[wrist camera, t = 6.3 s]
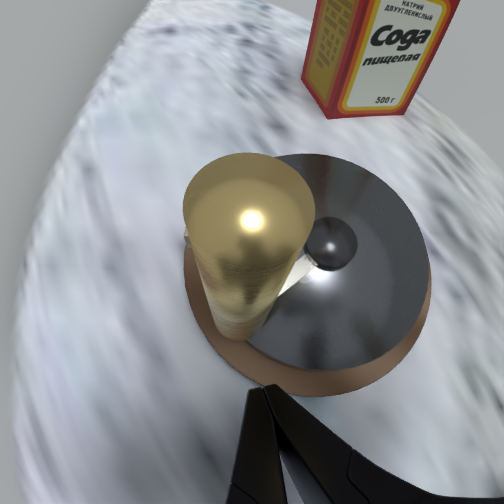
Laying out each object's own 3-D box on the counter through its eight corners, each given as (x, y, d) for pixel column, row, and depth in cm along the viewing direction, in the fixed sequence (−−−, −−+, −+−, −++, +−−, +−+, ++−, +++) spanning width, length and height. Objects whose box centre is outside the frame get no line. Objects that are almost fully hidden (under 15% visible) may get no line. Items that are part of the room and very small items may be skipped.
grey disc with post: (321, 141, 23) (366, 0, 12) (447, 274, 20) (572, 181, 8) (154, 243, 19) (79, 80, 8) (297, 429, 15) (419, 505, 4)
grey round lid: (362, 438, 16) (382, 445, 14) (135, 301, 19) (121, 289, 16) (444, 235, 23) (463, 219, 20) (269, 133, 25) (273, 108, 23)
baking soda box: (327, 119, 27) (375, -38, 12) (300, 79, 29) (328, -58, 14) (403, 115, 28) (463, -7, 13) (373, 77, 30) (415, -36, 16)
